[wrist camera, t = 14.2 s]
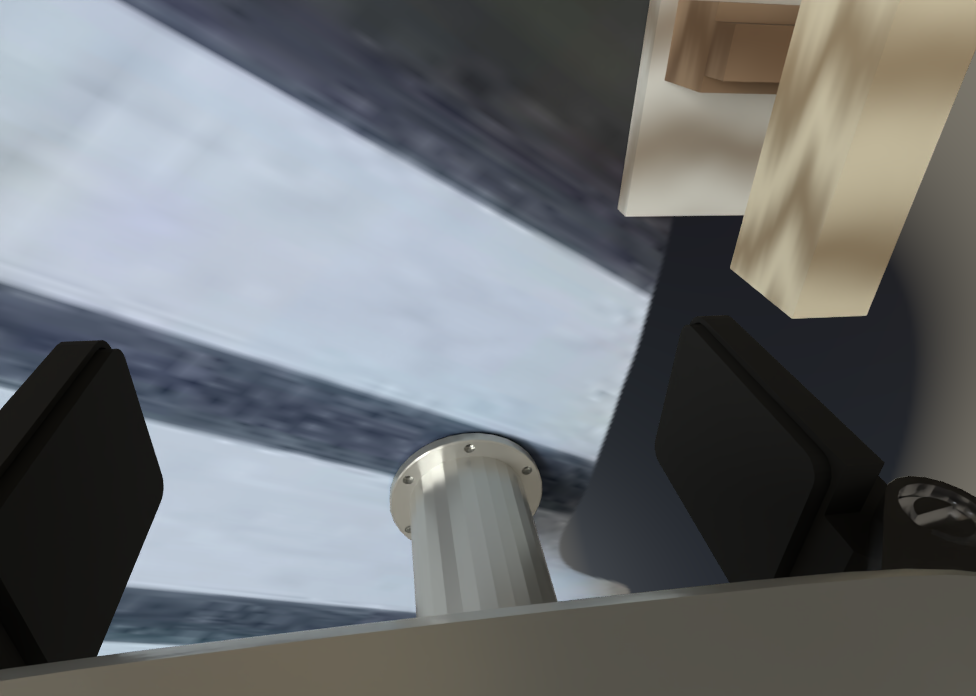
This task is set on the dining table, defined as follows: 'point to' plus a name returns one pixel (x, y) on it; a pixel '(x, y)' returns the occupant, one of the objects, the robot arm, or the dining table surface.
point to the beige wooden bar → (849, 147)
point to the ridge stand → (703, 104)
